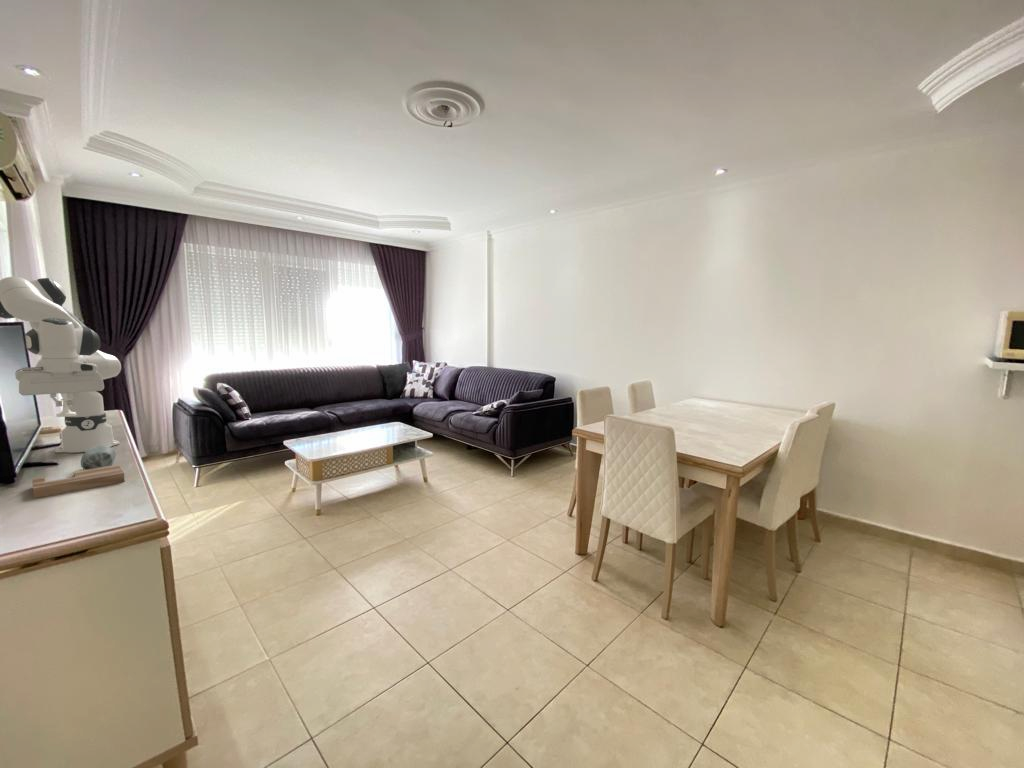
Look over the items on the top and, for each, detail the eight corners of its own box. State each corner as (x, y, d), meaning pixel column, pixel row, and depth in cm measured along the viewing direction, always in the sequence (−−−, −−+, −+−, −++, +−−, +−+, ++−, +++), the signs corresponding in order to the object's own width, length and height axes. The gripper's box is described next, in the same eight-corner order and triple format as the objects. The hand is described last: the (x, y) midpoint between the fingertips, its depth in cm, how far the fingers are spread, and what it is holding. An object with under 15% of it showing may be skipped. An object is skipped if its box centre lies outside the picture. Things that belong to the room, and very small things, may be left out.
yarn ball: (119, 463, 148) (100, 439, 146) (86, 480, 142) (66, 455, 140) (127, 462, 159) (110, 440, 157) (97, 477, 154) (78, 455, 152)
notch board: (33, 487, 132) (32, 478, 132) (119, 472, 147) (118, 464, 147) (33, 498, 124) (32, 488, 124) (124, 481, 140) (123, 472, 139)
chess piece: (79, 415, 147) (76, 387, 146) (59, 417, 143) (56, 388, 142) (73, 413, 150) (70, 385, 148) (53, 415, 145) (50, 387, 144)
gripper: (14, 368, 134) (19, 410, 136) (103, 365, 150) (106, 403, 152) (14, 366, 138) (19, 408, 140) (100, 364, 154) (103, 401, 156)
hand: (65, 405), depth 146 cm, fingers closed on chess piece
